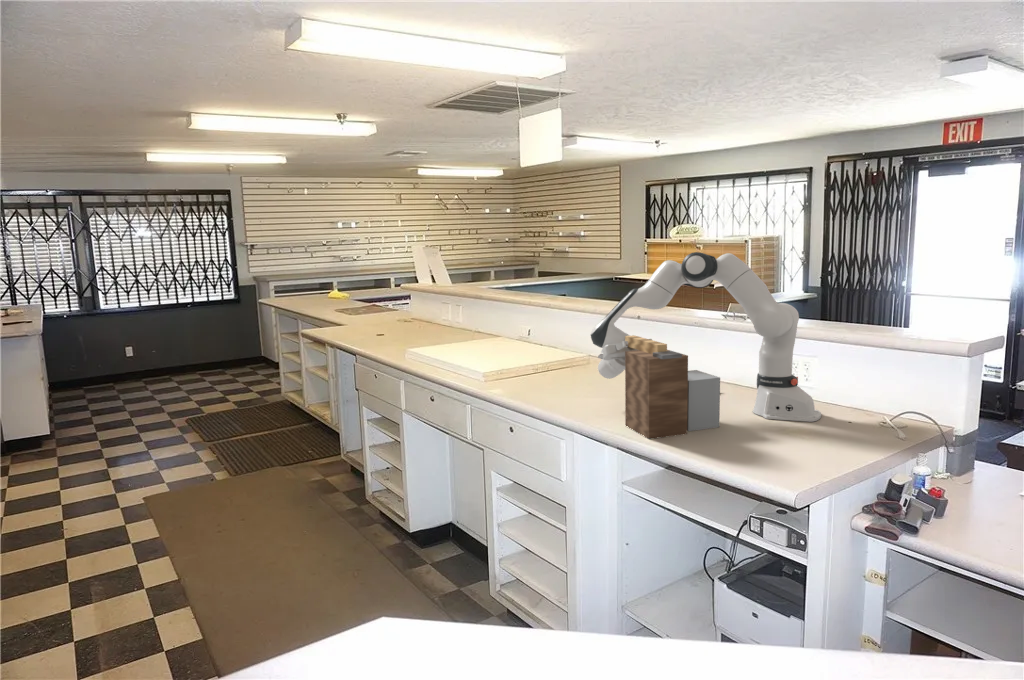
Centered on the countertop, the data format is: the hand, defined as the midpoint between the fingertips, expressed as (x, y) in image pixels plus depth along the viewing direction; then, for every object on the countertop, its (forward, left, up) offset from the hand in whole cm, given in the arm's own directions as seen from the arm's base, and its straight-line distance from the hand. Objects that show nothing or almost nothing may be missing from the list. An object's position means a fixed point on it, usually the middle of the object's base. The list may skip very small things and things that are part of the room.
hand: (638, 341), depth 228 cm
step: (-18, -5, -28) cm, 33 cm away
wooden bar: (-6, +5, -2) cm, 8 cm away
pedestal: (-9, +8, -28) cm, 31 cm away
